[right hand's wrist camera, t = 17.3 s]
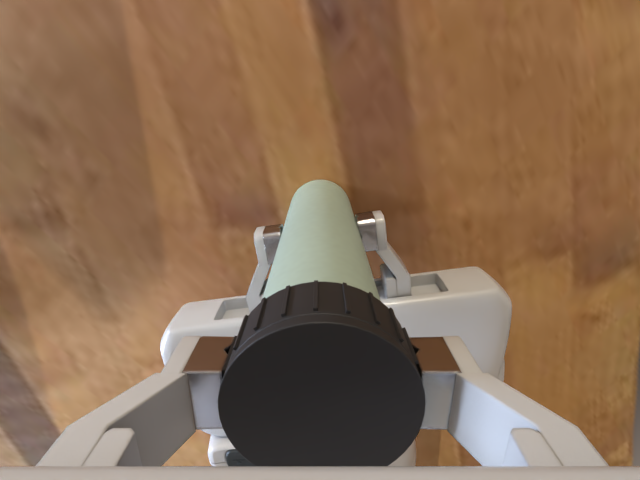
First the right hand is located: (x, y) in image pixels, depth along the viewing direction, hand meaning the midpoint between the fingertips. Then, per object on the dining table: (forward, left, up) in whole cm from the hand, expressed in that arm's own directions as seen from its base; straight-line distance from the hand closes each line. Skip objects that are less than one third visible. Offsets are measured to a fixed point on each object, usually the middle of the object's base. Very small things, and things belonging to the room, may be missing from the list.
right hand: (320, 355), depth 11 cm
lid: (0, 0, +2) cm, 2 cm away
